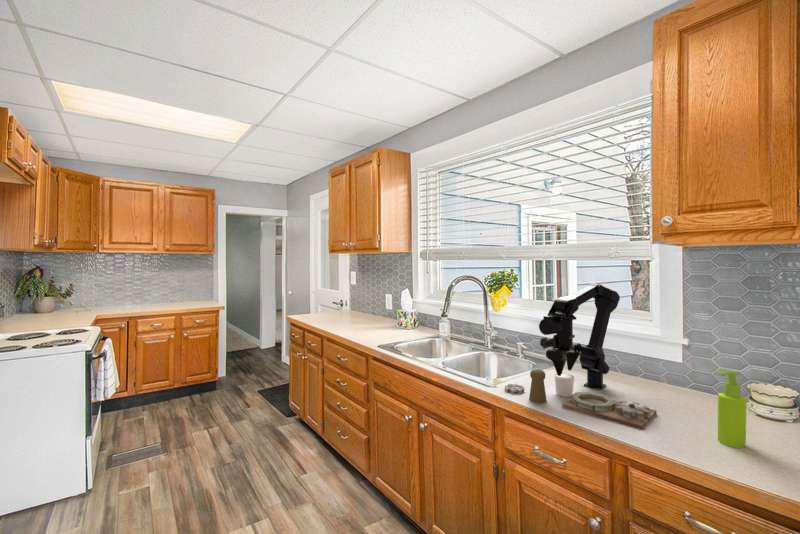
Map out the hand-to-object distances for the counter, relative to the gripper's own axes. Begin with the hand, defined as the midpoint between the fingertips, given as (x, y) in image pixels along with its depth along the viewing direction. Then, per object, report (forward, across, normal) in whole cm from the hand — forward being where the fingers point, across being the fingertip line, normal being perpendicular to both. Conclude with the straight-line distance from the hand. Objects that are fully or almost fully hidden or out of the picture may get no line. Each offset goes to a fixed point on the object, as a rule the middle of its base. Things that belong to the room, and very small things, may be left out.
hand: (564, 373), depth 143 cm
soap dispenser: (+8, +5, +48) cm, 49 cm away
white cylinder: (+8, 0, 0) cm, 8 cm away
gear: (+8, +10, -15) cm, 20 cm away
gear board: (+8, +5, +17) cm, 19 cm away
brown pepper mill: (+8, +13, -4) cm, 16 cm away
